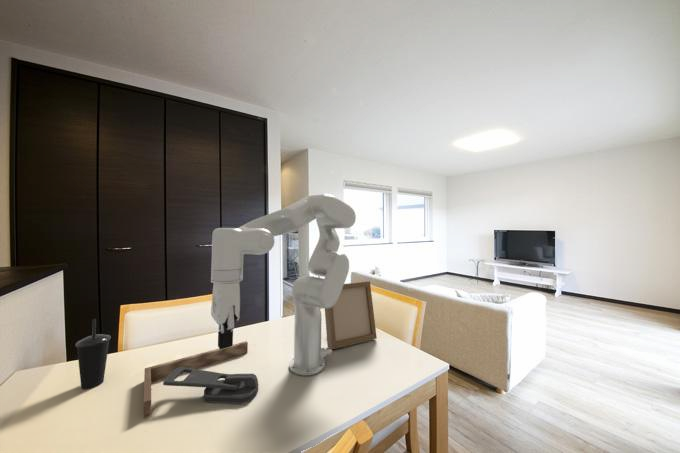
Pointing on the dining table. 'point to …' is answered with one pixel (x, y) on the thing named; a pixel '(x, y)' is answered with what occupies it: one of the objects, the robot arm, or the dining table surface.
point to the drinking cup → (92, 358)
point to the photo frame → (351, 316)
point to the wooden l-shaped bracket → (188, 362)
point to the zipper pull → (218, 385)
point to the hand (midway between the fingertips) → (225, 346)
